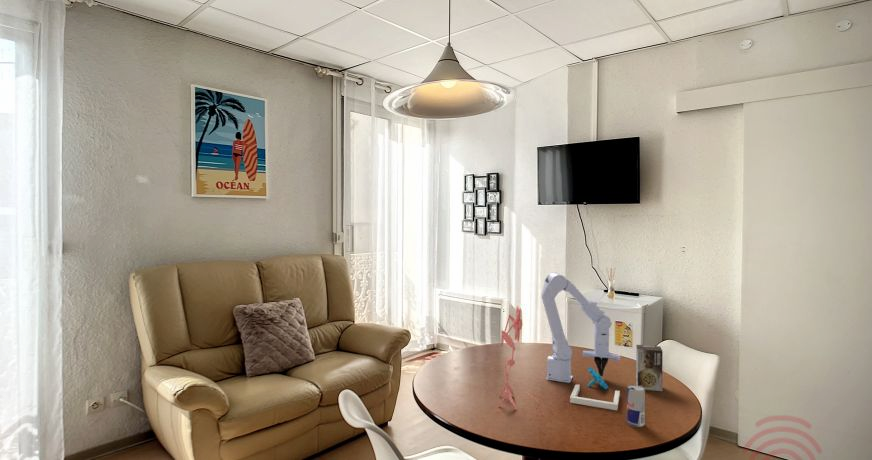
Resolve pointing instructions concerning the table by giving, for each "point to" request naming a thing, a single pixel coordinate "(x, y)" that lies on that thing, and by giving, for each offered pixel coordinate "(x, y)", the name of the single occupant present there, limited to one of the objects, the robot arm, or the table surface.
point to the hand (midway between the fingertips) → (601, 375)
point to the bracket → (593, 402)
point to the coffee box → (649, 367)
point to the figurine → (517, 326)
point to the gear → (596, 378)
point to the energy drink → (635, 406)
